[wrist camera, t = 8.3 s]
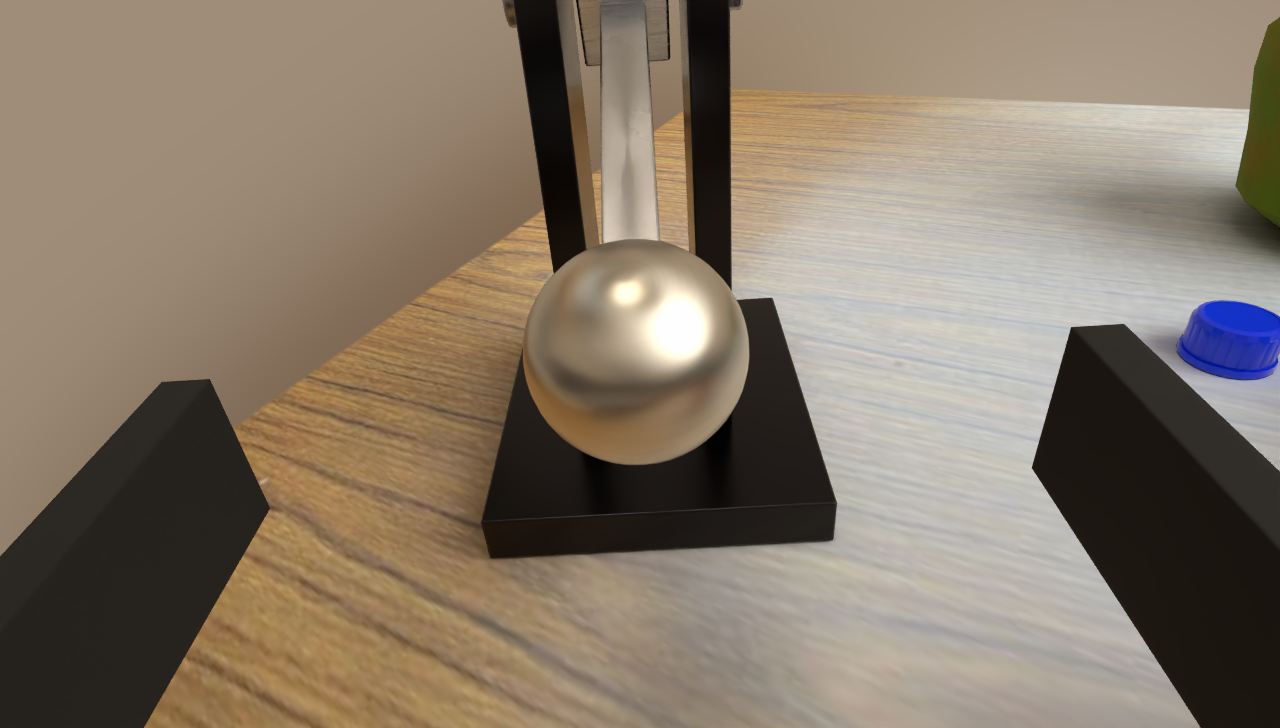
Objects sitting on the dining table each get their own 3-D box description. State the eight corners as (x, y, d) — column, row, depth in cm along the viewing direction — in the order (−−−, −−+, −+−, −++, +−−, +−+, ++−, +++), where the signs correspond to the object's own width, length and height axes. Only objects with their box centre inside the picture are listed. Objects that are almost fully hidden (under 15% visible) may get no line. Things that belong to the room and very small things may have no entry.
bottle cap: (1295, 365, 27) (1315, 324, 26) (1236, 388, 26) (1254, 346, 25) (1214, 327, 29) (1229, 288, 29) (1157, 347, 29) (1171, 308, 28)
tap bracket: (834, 541, 22) (896, -103, 13) (489, 559, 22) (329, -55, 13) (771, 328, 32) (784, -117, 23) (535, 343, 32) (460, -89, 23)
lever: (754, 493, 14) (771, 386, 11) (540, 505, 14) (491, 403, 11) (697, 20, 22) (697, -131, 18) (558, 31, 22) (532, -117, 18)
